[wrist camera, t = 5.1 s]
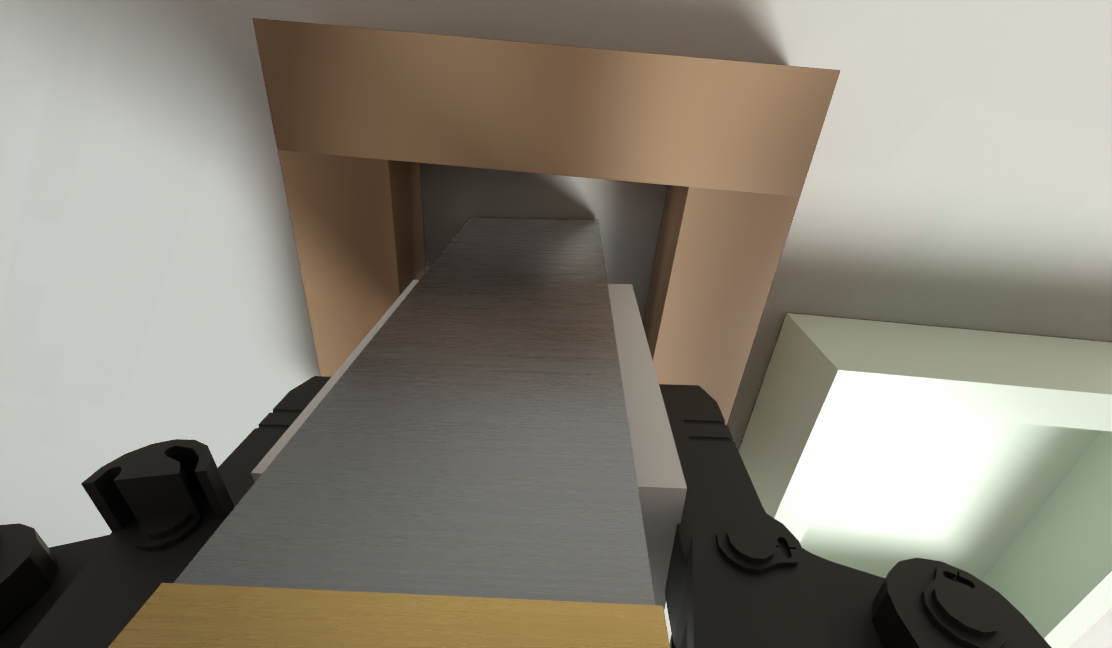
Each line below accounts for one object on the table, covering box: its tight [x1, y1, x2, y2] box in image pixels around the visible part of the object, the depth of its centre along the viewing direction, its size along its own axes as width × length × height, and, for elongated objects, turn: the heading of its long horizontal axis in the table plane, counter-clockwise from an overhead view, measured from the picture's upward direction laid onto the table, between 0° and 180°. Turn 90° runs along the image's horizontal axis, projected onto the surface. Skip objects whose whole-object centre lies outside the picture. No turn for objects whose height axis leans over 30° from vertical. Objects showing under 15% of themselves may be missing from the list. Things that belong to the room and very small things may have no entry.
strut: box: [108, 218, 670, 648], centre depth 10 cm, size 4×4×13 cm
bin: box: [739, 313, 1112, 648], centre depth 17 cm, size 13×13×4 cm
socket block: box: [253, 18, 840, 425], centre depth 14 cm, size 13×13×2 cm
